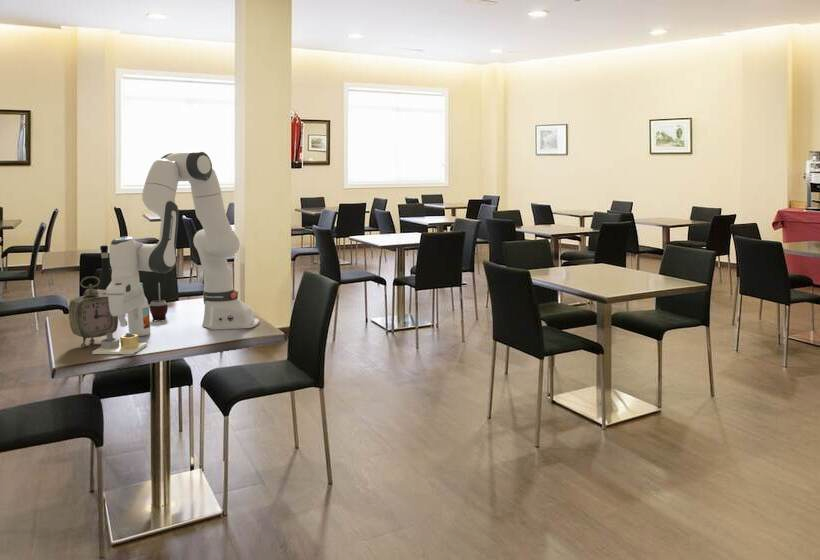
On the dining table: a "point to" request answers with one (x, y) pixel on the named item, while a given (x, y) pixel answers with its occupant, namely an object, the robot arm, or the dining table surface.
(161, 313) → the mate gourd
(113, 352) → the gear board
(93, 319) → the tabletop clock
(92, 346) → the dining table surface
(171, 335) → the dining table surface
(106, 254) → the wine bottle
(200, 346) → the dining table surface
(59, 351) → the dining table surface
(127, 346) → the brass gear
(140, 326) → the milk bottle
